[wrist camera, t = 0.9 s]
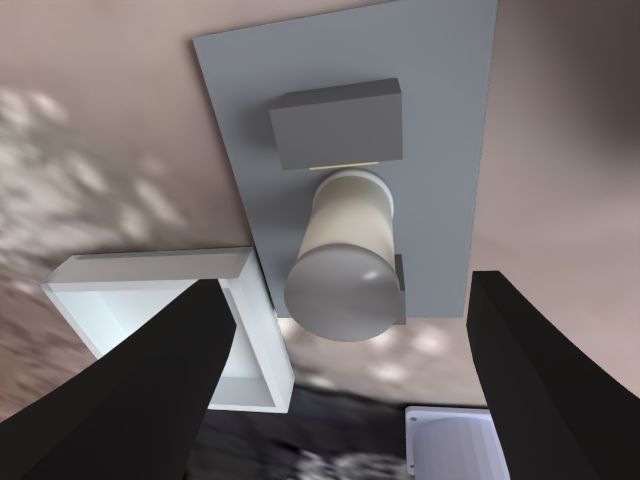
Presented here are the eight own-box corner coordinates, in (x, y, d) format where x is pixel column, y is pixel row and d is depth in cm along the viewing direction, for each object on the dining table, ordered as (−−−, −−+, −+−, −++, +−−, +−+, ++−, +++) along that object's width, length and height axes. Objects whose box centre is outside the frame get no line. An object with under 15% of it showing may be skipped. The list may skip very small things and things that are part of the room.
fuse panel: (460, 308, 18) (474, 357, 16) (280, 310, 20) (266, 354, 18) (494, -17, 11) (531, -24, 8) (199, 36, 13) (153, 44, 10)
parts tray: (294, 377, 24) (287, 413, 22) (152, 373, 26) (133, 404, 24) (254, 246, 18) (238, 278, 16) (72, 255, 20) (37, 283, 18)
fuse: (394, 234, 15) (402, 342, 11) (320, 238, 16) (295, 341, 11) (391, 163, 14) (399, 254, 9) (308, 171, 14) (272, 258, 9)
